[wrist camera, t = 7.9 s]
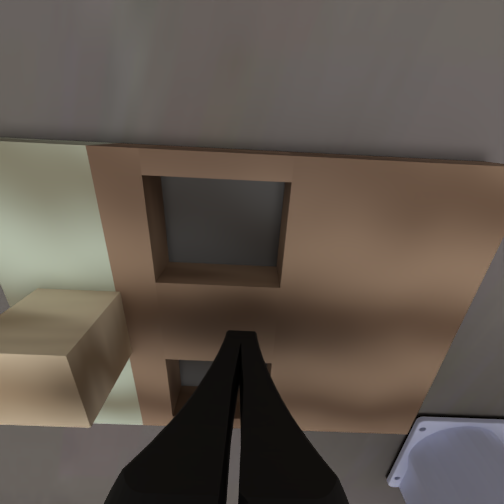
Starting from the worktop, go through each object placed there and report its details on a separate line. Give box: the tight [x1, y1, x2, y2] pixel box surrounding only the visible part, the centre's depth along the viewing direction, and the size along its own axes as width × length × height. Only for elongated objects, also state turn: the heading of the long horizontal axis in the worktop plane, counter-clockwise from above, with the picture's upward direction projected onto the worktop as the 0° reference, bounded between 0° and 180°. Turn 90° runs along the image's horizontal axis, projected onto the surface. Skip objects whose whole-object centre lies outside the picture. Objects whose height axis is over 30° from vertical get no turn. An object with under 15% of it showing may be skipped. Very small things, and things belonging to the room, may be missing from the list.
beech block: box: [0, 288, 132, 428], centre depth 12 cm, size 4×4×4 cm
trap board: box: [0, 137, 504, 434], centre depth 15 cm, size 17×23×2 cm
